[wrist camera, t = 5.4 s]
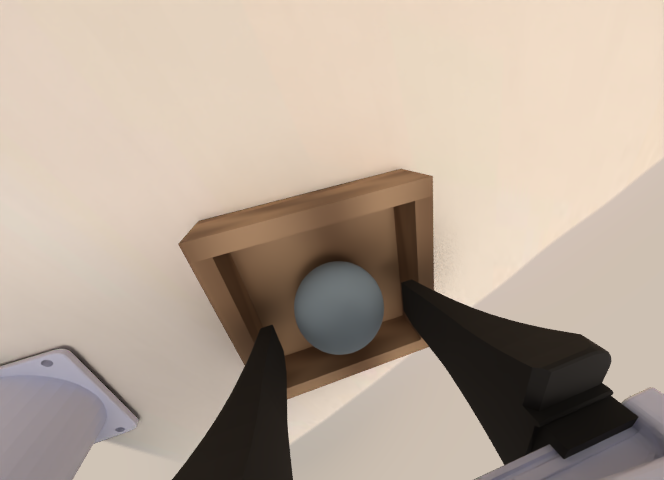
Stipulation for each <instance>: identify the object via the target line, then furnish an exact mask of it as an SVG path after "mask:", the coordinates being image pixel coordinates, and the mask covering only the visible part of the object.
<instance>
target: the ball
mask: <svg viewBox="0 0 664 480" xmlns="http://www.w3.org/2000/svg"><path fill="white" fill-rule="evenodd" d="M294 314H295V319H296V323H297V325H298V328H299V330H300V332H301V333H302V335H303V336H304V338H305V339H306V340H307V341H308V342H309V343H310V344H311V345H313V346H314V347H315V348H317V349H319V350H321V351H323V352H326V353H329V354H335V355H343V354H350V353H353V352H356V351H358V350H360V349H362V348H363V347H365V346H366V345H367V344H368V343H370V342H371V341H372V339H373V338H374V337H375V336H376V334H377V332H378V331H379V329H380V327H381V324H382V320H383V316H384V301H383V296H382V293H381V290H380V288H379V286H378V284H377V282H376V281H375V279H374V278H373V277H372V276H371V275H370V274H369V273H368V272H367V271H366V270H364V269H363V268H361V267H360V266H358V265H355V264H353V263H349V262H343V261H333V262H328V263H325V264H322V265H320V266H318V267H316V268H315V269H313V270H312V271H311V272H309V273H308V274H307V275H306V277H305V278H304V279H303V280H302V282H301V284H300V285H299V287H298V290H297V292H296V296H295V301H294Z"/></svg>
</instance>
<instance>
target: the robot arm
mask: <svg viewBox="0 0 664 480" xmlns="http://www.w3.org/2000/svg"><path fill="white" fill-rule="evenodd" d="M401 286H402V298H403V310H404V312H405V314H406V316H407V317H408V319H409V321H410V322H411V324H412V325H413V327H414V328H415V329H416V331H417V332H418V333H419V335H420V336H421V337H422V338H423V340H424V341H425V342H426V343H427V345H428V346H429V347H430V348H431V350H432V351H433V352H434V353H435V354H436V356H437V357H438V358H439V360H440V361H441V362H442V364H443V365H444V366H445V368H446V369H447V371H448V372H449V374H450V375H451V377H452V378H453V380H454V381H455V383H456V384H457V386H458V387H459V389H460V391H461V392H462V394H463V395H464V397H465V399H466V400H467V402H468V403H469V405H470V406H471V408H472V410H473V411H474V413H475V415H476V416H477V418H478V420H479V421H480V423H481V425H482V426H483V428H484V430H485V432H486V433H487V435H488V436H489V439H490V440H491V442H492V444H493V446H494V447H495V449H496V451H497V453H498V454H499V456H500V458H501V460H502V461H503V463H504V466H502V467H500V468H497V469H495V470H493V471H491V472H489V473H487V474H485V475H482V476H480V477H478V478H476V479H474V480H664V394H663V393H661V392H660V391H658V390H657V389H655V388H651V387H650V388H647V389H645V390H643V391H641V392H639V393H637V394H634V395H632V396H630V397H628V398H627V399H625V400H624V401H623V402H622V403H620V402H618V401H617V400H616V399H614V398H613V397H612V396H611V395H612V394H613V391H612V390H611V389H610V388H608V387H607V386H605V385H604V384H603V383H602V381H603V379H604V377H605V375H606V373H607V371H608V369H609V367H610V364H611V356H610V354H609V352H608V351H606V350H605V349H603V348H601V347H600V346H598V345H597V344H595V343H593V342H592V341H590V340H589V339H587V338H586V337H584V336H582V335H581V334H575V333H569V332H563V331H557V330H551V329H545V328H541V327H537V326H532V325H528V324H523V323H519V322H515V321H511V320H508V319H505V318H501V317H498V316H495V315H491V314H488V313H486V312H483V311H480V310H477V309H474V308H472V307H469V306H467V305H464V304H462V303H459V302H457V301H455V300H453V299H450V298H448V297H446V296H444V295H442V294H440V293H438V292H436V291H434V290H432V289H430V288H428V287H426V286H424V285H422V284H420V283H418V282H416V281H414V280H412V279H411V280H407V281H404V282H401ZM138 422H139V420H138V418H137V417H136V416H135V415H134V414H133V413H132V412H131V411H130V410H129V409H128V408H127V407H126V406H125V405H124V404H123V403H122V402H121V401H120V400H119V399H118V398H117V397H116V396H115V395H114V394H113V393H112V392H111V391H110V390H109V389H108V388H107V387H106V386H105V385H104V384H103V383H102V382H101V381H100V380H99V379H98V378H97V377H96V376H95V375H94V374H93V373H92V372H91V371H90V370H89V369H88V368H87V367H86V366H85V365H84V364H83V363H82V362H81V361H80V360H79V359H78V358H77V357H76V356H75V355H74V354H73V353H72V352H70V351H69V350H66V349H55V350H52V351H49V352H46V353H42V354H39V355H36V356H32V357H29V358H26V359H22V360H19V361H16V362H13V363H9V364H6V365H3V366H0V480H72V479H73V478H74V476H75V474H76V472H77V471H78V469H79V467H80V466H81V464H82V462H83V460H84V459H85V457H86V455H87V454H88V452H89V450H90V448H91V446H92V445H93V444H95V443H97V442H100V441H103V440H106V439H109V438H111V437H114V436H117V435H120V434H123V433H125V432H128V431H131V430H133V429H135V428H136V427H137V424H138ZM172 480H293V476H292V468H291V459H290V449H289V438H288V426H287V371H286V363H285V355H284V350H283V348H282V346H281V343H280V341H279V338H278V336H277V334H276V331H275V329H274V327H273V324H272V325H269V326H266V327H263V328H261V329H260V330H259V333H258V336H257V338H256V341H255V344H254V346H253V349H252V351H251V353H250V356H249V358H248V360H247V362H246V365H245V367H244V369H243V371H242V373H241V375H240V377H239V379H238V381H237V383H236V385H235V387H234V389H233V391H232V393H231V395H230V397H229V398H228V400H227V402H226V403H225V405H224V407H223V409H222V410H221V412H220V413H219V415H218V417H217V418H216V420H215V421H214V423H213V424H212V426H211V428H210V429H209V431H208V432H207V434H206V435H205V437H204V438H203V439H202V441H201V442H200V444H199V445H198V446H197V448H196V449H195V450H194V452H193V453H192V454H191V456H190V457H189V459H188V460H187V461H186V463H185V464H184V465H183V467H182V468H181V469H180V470H179V472H178V473H177V474H176V475H175V477H174V478H173V479H172Z"/></svg>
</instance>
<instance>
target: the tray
mask: <svg viewBox="0 0 664 480" xmlns="http://www.w3.org/2000/svg"><path fill="white" fill-rule="evenodd" d="M179 246H180V248H181V250H182V252H183V254H184V255H185V257H186V259H187V261H188V263H189V264H190V266H191V268H192V270H193V272H194V274H195V275H196V277H197V279H198V281H199V283H200V285H201V286H202V288H203V290H204V292H205V294H206V296H207V297H208V299H209V301H210V303H211V305H212V306H213V308H214V310H215V312H216V314H217V316H218V317H219V319H220V321H221V323H222V325H223V327H224V328H225V330H226V332H227V334H228V336H229V338H230V339H231V341H232V343H233V345H234V347H235V348H236V350H237V352H238V354H239V356H240V358H241V359H242V361H243V363H244V365H246V362H247V360H248V358H249V356H250V353H251V351H252V349H253V346H254V344H255V341H256V338H257V336H258V333H259V330H260V329H261V328H263V327H266V326H269V325H272V324H273V327H274V329H275V331H276V334H277V336H278V338H279V341H280V343H281V346H282V348H283V350H284V355H285V363H286V371H287V399H290V398H292V397H295V396H298V395H300V394H303V393H306V392H309V391H311V390H314V389H317V388H319V387H322V386H325V385H327V384H330V383H333V382H335V381H338V380H341V379H344V378H346V377H349V376H352V375H354V374H357V373H360V372H362V371H365V370H368V369H371V368H373V367H376V366H379V365H381V364H384V363H387V362H389V361H392V360H395V359H397V358H400V357H403V356H406V355H408V354H411V353H414V352H416V351H419V350H422V349H424V348H427V347H429V346H428V345H427V343H426V342H425V341H424V340H423V338H422V337H421V336H420V335H419V333H418V332H417V331H416V329H415V328H414V327H413V325H412V324H411V322H410V321H409V319H408V317H407V316H406V314H405V312H404V310H403V298H402V286H401V282H404V281H407V280H411V279H412V280H414V281H416V282H418V283H420V284H422V285H424V286H426V287H428V288H430V289H432V290H434V263H433V176H430V175H425V174H421V173H417V172H412V171H408V170H403V169H399V170H395V171H391V172H387V173H384V174H380V175H376V176H372V177H368V178H364V179H360V180H356V181H353V182H349V183H345V184H341V185H337V186H333V187H329V188H325V189H321V190H318V191H314V192H310V193H306V194H302V195H298V196H294V197H290V198H286V199H283V200H279V201H275V202H271V203H267V204H263V205H259V206H255V207H252V208H248V209H244V210H240V211H236V212H232V213H228V214H224V215H220V216H217V217H213V218H209V219H205V220H201V221H198V222H197V224H196V225H195V226H194V227H193V228H192V229H191V230H190V231H189V233H188V234H187V235H186V236H185V237H184V238H183V239H182V240H181V242H180V243H179ZM333 261H343V262H349V263H353V264H355V265H358V266H360V267H361V268H363V269H364V270H366V271H367V272H368V273H369V274H370V275H371V276H372V277H373V278H374V279H375V281H376V282H377V284H378V286H379V288H380V290H381V293H382V296H383V301H384V316H383V320H382V324H381V327H380V329H379V331H378V332H377V334H376V336H375V337H374V338H373V339H372V341H371V342H370V343H368V344H367V345H366V346H365V347H363V348H362V349H360V350H358V351H356V352H353V353H350V354H343V355H335V354H329V353H326V352H323V351H321V350H319V349H317V348H315V347H314V346H313V345H311V344H310V343H309V342H308V341H307V340H306V339H305V338H304V336H303V335H302V333H301V332H300V330H299V328H298V325H297V323H296V319H295V314H294V301H295V296H296V292H297V290H298V287H299V285H300V284H301V282H302V280H303V279H304V278H305V277H306V275H307V274H308V273H309V272H311V271H312V270H313V269H315V268H316V267H318V266H320V265H322V264H325V263H328V262H333Z"/></svg>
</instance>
